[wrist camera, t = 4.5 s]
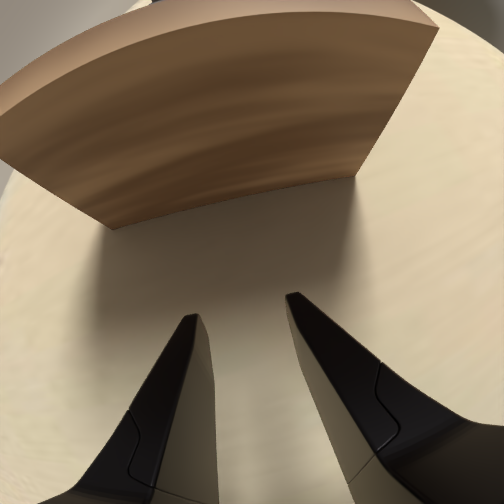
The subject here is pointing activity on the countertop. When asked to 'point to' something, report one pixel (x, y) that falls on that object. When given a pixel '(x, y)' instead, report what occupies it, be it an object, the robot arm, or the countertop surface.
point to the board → (210, 101)
